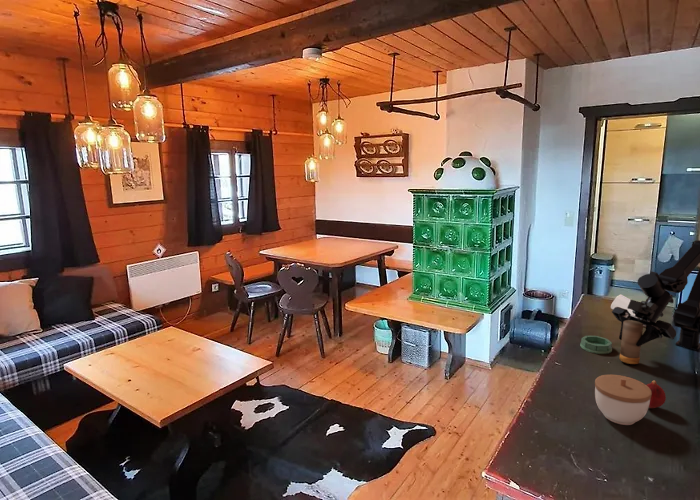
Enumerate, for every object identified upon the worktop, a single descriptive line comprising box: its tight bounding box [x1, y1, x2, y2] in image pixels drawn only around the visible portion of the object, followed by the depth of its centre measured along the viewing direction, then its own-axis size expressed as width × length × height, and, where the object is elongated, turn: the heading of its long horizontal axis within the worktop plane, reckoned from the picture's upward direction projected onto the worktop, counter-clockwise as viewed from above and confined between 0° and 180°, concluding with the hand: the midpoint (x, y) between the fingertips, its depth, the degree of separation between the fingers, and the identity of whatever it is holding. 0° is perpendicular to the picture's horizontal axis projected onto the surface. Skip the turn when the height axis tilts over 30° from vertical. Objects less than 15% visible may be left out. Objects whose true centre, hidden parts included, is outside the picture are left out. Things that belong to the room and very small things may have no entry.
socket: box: [579, 335, 613, 355], centre depth 158 cm, size 10×10×3 cm
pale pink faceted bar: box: [610, 293, 656, 327], centre depth 187 cm, size 7×7×24 cm
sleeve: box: [618, 320, 644, 365], centre depth 145 cm, size 6×6×13 cm
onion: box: [646, 380, 667, 409], centre depth 120 cm, size 6×6×8 cm
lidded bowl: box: [594, 374, 652, 426], centre depth 116 cm, size 13×13×11 cm
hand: (628, 342), depth 145 cm, fingers closed on sleeve, 5 cm apart
